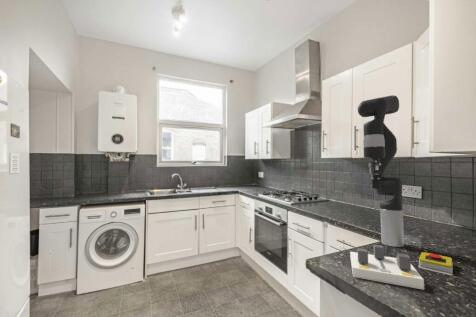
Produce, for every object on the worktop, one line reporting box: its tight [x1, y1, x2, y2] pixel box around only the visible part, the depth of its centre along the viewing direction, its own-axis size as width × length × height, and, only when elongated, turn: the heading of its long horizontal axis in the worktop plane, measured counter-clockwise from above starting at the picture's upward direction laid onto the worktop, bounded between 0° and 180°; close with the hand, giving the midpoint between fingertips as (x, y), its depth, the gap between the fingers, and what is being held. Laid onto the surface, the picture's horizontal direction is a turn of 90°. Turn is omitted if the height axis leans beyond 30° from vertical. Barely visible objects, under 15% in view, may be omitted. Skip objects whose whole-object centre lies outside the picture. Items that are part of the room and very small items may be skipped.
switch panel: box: [349, 251, 425, 291], centre depth 77 cm, size 17×19×3 cm
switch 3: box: [396, 253, 412, 270], centre depth 73 cm, size 3×3×4 cm
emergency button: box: [418, 251, 454, 276], centre depth 83 cm, size 9×4×15 cm
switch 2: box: [372, 244, 385, 259], centre depth 82 cm, size 3×3×4 cm
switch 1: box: [356, 247, 369, 264], centre depth 78 cm, size 3×3×4 cm
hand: (375, 188), depth 89 cm, fingers closed
